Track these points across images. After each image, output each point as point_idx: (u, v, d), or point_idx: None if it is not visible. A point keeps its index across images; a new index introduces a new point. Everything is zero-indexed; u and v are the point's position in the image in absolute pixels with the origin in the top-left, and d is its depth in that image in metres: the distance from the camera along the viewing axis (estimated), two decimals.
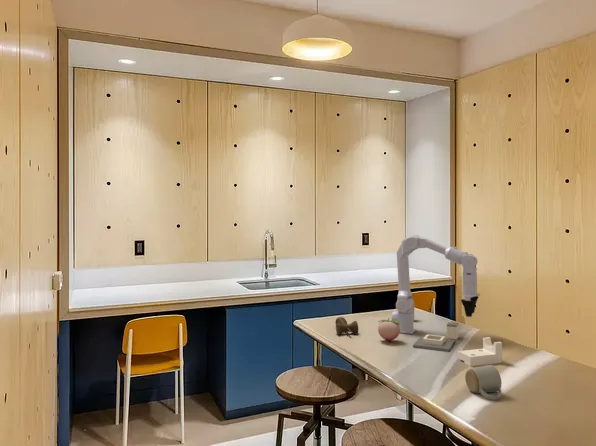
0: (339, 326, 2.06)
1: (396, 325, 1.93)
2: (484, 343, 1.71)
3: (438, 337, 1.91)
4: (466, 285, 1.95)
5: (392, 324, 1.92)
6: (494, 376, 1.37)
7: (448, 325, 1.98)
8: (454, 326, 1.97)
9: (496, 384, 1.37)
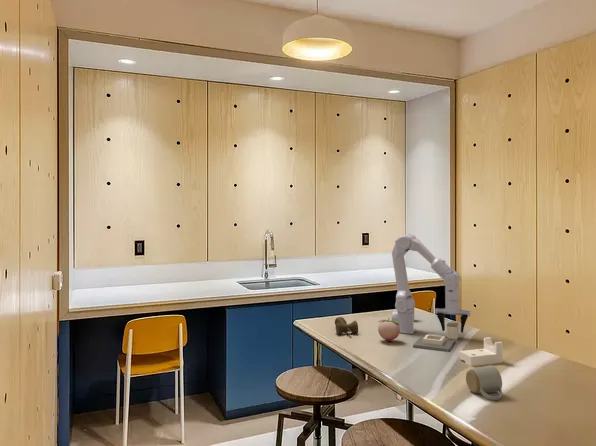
0: (339, 326, 2.06)
1: (396, 325, 1.93)
2: (485, 343, 1.71)
3: (438, 337, 1.91)
4: None
5: (392, 324, 1.92)
6: (495, 376, 1.37)
7: (448, 325, 1.98)
8: (454, 326, 1.97)
9: (497, 384, 1.37)
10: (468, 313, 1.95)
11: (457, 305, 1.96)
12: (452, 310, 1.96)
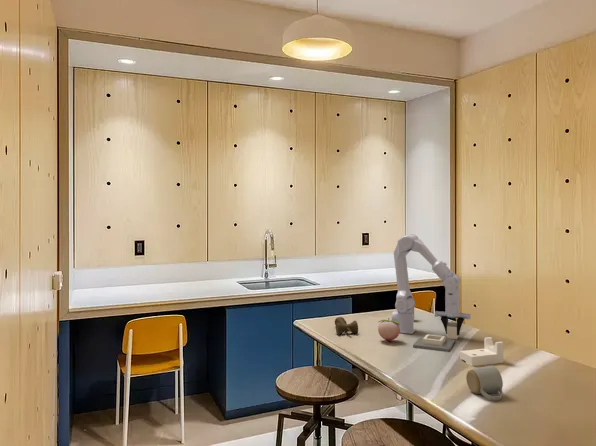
0: (339, 326, 2.06)
1: (396, 325, 1.93)
2: (485, 343, 1.71)
3: (438, 337, 1.91)
4: None
5: (392, 324, 1.92)
6: (495, 376, 1.37)
7: (448, 325, 1.98)
8: (454, 326, 1.97)
9: (497, 385, 1.36)
10: (468, 316, 1.95)
11: (457, 308, 1.96)
12: (452, 313, 1.96)
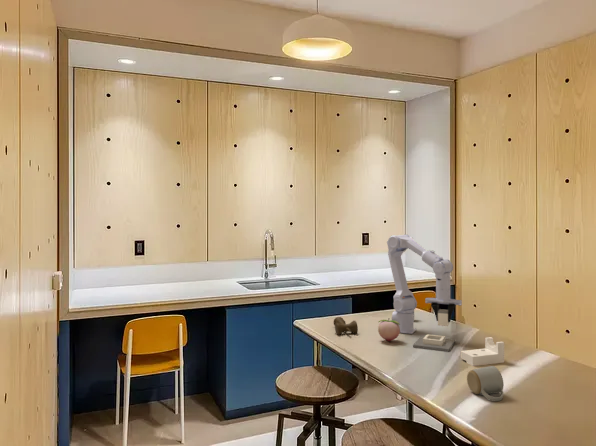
0: (339, 326, 2.06)
1: (396, 325, 1.93)
2: (486, 343, 1.72)
3: (438, 337, 1.91)
4: None
5: (392, 324, 1.92)
6: (496, 377, 1.36)
7: (439, 312, 1.93)
8: (445, 313, 1.92)
9: (498, 385, 1.36)
10: (459, 302, 1.90)
11: (448, 294, 1.91)
12: (443, 299, 1.91)
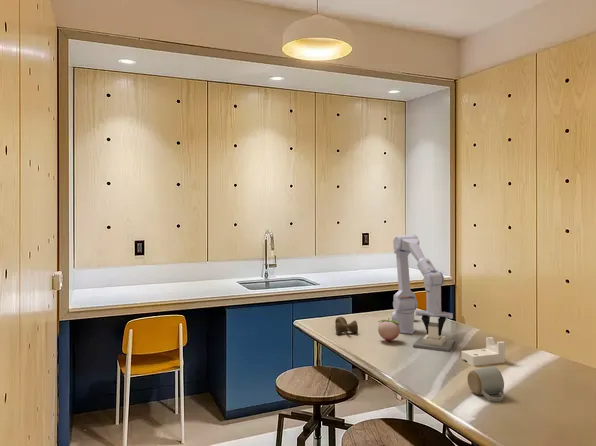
0: (338, 326, 2.06)
1: (396, 325, 1.93)
2: (487, 343, 1.72)
3: None
4: None
5: (392, 324, 1.92)
6: (497, 377, 1.36)
7: (429, 325, 1.88)
8: (435, 326, 1.87)
9: (499, 386, 1.36)
10: (450, 315, 1.85)
11: (438, 307, 1.86)
12: (433, 312, 1.86)
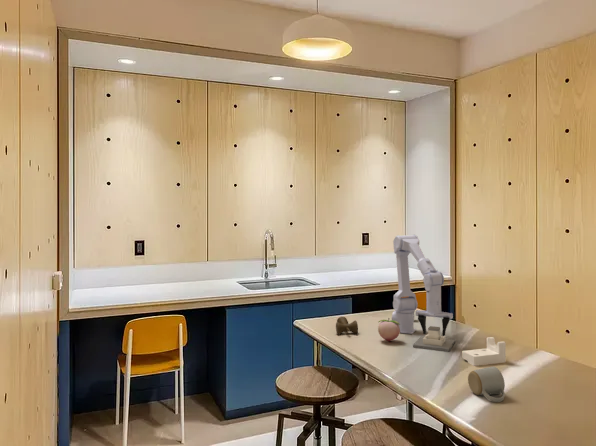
0: (338, 326, 2.07)
1: (396, 325, 1.93)
2: (488, 343, 1.72)
3: None
4: None
5: (392, 324, 1.92)
6: (497, 377, 1.36)
7: (429, 329, 1.88)
8: (435, 330, 1.87)
9: (499, 386, 1.35)
10: (450, 315, 1.85)
11: (438, 307, 1.86)
12: (433, 312, 1.86)
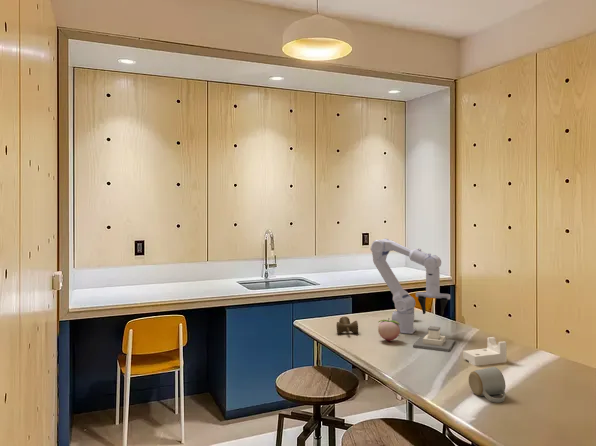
0: (338, 325, 2.07)
1: (396, 325, 1.93)
2: (488, 343, 1.72)
3: None
4: None
5: (392, 324, 1.92)
6: (498, 378, 1.35)
7: (429, 329, 1.88)
8: (435, 330, 1.87)
9: (500, 387, 1.35)
10: (448, 296, 1.98)
11: (437, 288, 2.00)
12: (432, 293, 2.00)
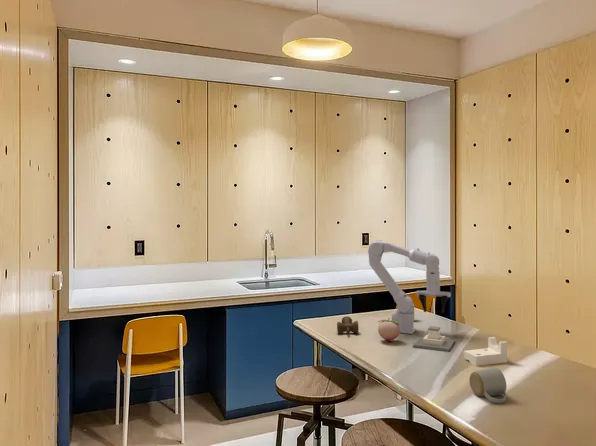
0: (339, 325, 2.07)
1: (396, 325, 1.93)
2: (489, 343, 1.72)
3: None
4: None
5: (392, 324, 1.92)
6: (499, 379, 1.35)
7: (429, 329, 1.88)
8: (435, 330, 1.87)
9: (501, 387, 1.35)
10: (448, 294, 2.02)
11: (437, 287, 2.04)
12: (433, 291, 2.04)
